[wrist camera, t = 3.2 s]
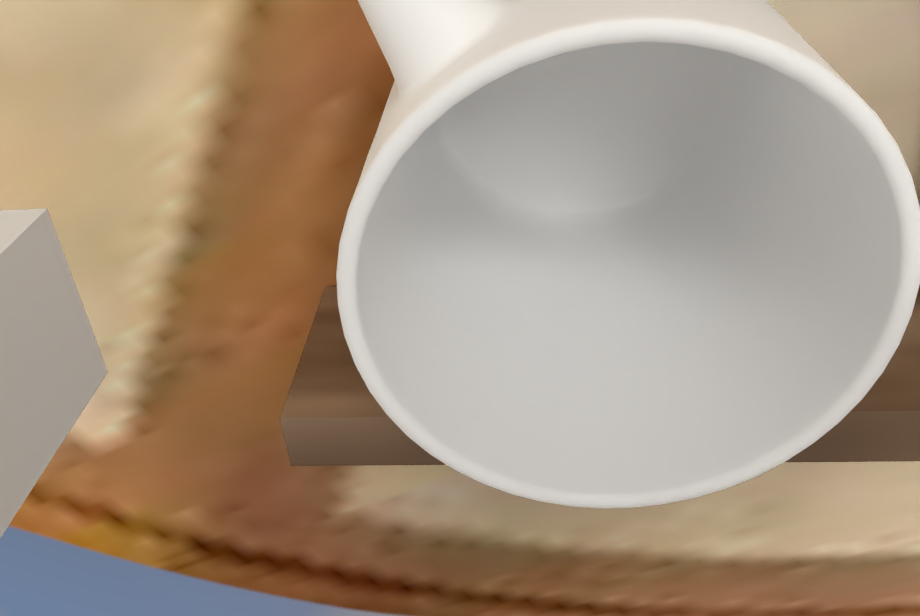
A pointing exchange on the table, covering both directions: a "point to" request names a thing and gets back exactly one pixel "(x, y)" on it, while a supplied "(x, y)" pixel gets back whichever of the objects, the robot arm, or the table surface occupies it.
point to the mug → (621, 244)
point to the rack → (383, 443)
